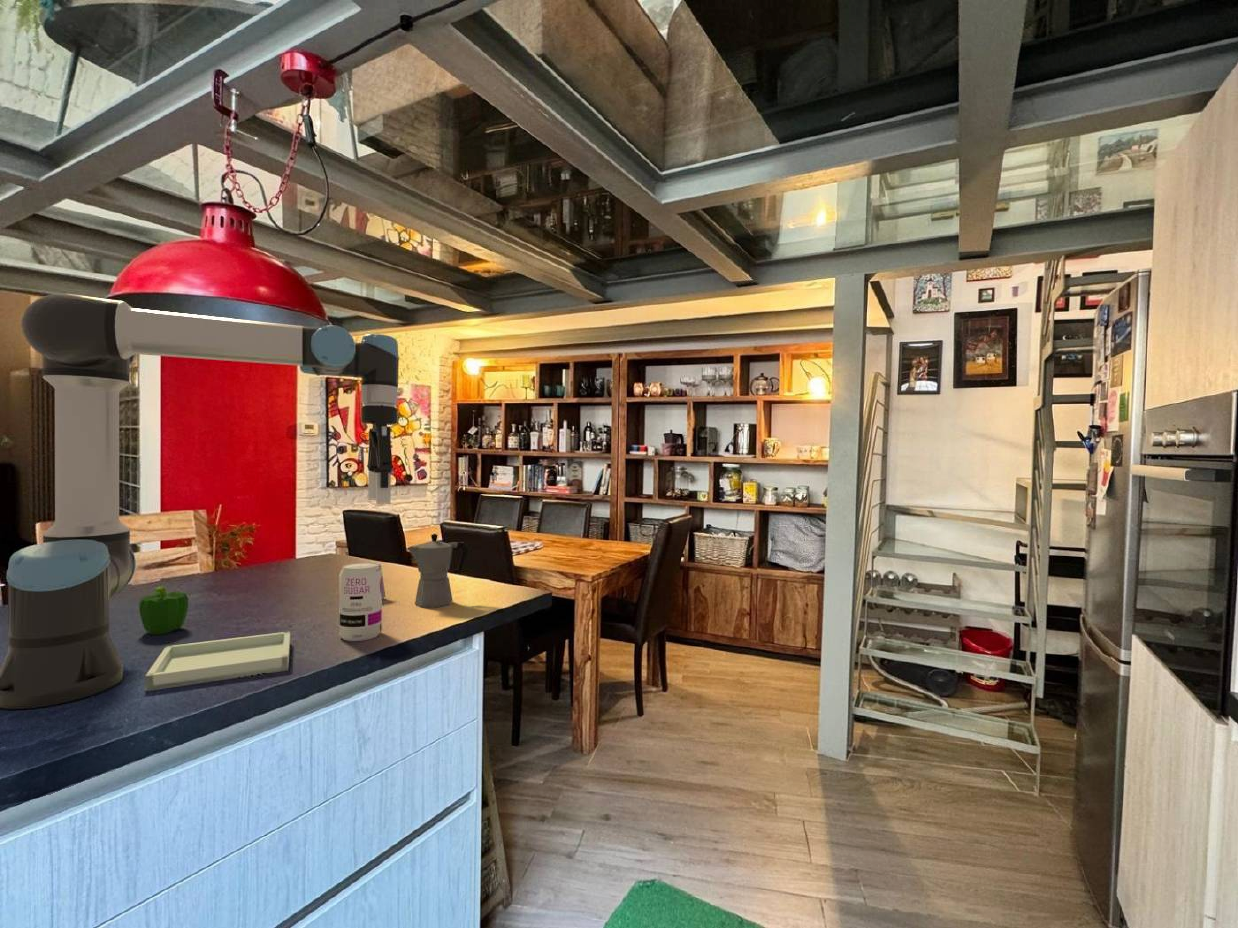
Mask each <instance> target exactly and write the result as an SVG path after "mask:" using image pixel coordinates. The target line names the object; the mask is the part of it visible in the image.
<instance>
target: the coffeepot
mask: <svg viewBox="0 0 1238 928" xmlns="http://www.w3.org/2000/svg"><path fill="white" fill-rule="evenodd" d="M438 535H439V534H436V533H433V534H430V537H431V541H427V542H423V543H419V544H416V545H411V546H408V547H407V548H406V551H408V552H410V554H411V555H412V557H413V559H414V560H415V562H416V563H417V564H416V565H417V571H418V572H419V574H420V575H419V576H420V579H419V580H418V584H417V591H416V594H415V595H416V596H415V602H414V605H415V606H417V607H418V606H419V608H424V609H433V608H434V609H435V608H441V607H446V606H450V605H451V604H452V602H453V595H452V591H451V590H452V589H451V584H450V583H451V582H450V578H449V577H448V571H449V570H450V567H451V560H452V553H453V551H457V550H462V551H461V554H460V560H459V562H458V568H457V569H453V570H452V572H453V574H461V573H462V572H463V569H464V567H465V564H466V560H467V559H468V556H469V554H470V547H469V546H468V544H466V543H465V542H464V541H457V542H455V541H454V542H453V541H452V542H448V543H447V542H444V541H441V540H440V541H438Z"/></svg>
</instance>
